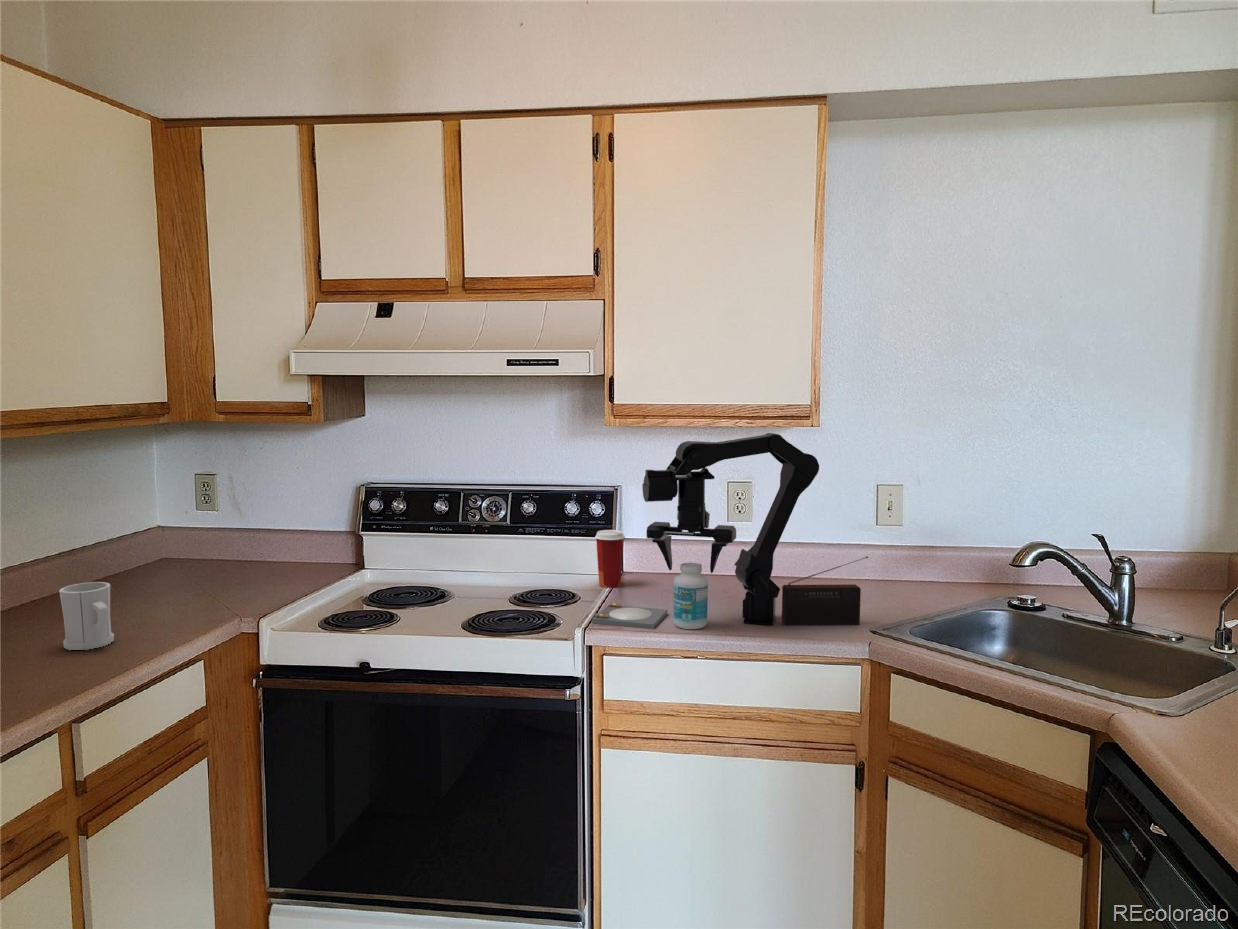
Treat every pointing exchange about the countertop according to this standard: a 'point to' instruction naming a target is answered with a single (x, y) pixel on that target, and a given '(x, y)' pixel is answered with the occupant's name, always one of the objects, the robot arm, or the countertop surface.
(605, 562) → the paper cup
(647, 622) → the plate
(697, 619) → the pill bottle
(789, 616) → the radio
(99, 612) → the cup
